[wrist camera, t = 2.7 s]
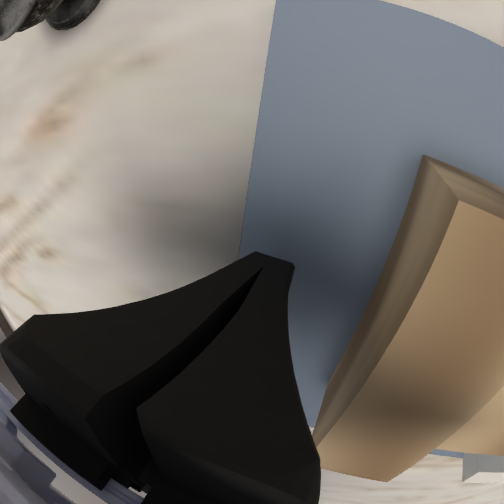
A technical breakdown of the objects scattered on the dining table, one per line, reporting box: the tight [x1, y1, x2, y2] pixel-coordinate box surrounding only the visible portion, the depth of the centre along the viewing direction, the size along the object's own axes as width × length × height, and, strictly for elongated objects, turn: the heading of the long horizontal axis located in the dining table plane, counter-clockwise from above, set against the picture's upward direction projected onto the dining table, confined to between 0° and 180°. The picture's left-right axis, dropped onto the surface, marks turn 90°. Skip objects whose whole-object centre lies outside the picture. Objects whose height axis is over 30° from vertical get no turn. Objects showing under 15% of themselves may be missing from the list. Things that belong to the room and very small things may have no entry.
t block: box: [312, 154, 504, 482], centre depth 7 cm, size 10×10×4 cm
